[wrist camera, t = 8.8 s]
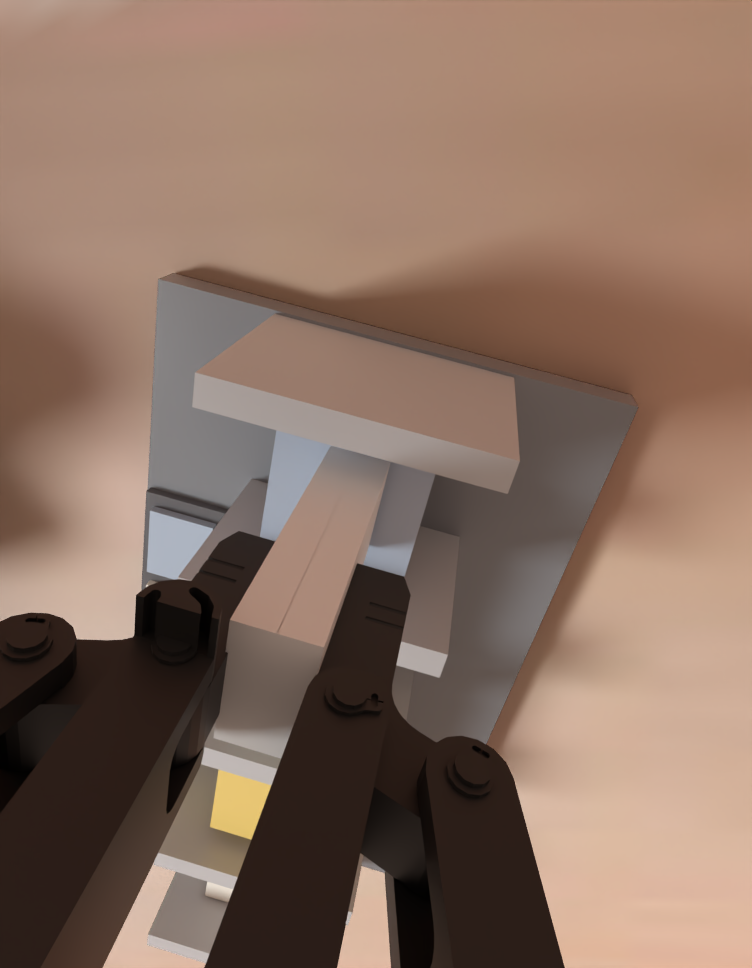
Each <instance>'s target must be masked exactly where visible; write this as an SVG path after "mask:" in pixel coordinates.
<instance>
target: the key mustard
mask: <svg viewBox="0 0 752 968" xmlns="http://www.w3.org/2000/svg"><path fill="white" fill-rule="evenodd" d="M270 788H271V785H268V784H265V783H262V782H259V781H255V780H252V779H249V778H245V777H242V776H239V775H235V774H232V773H229V772H225V771H222V770H218V777H217V783H216V790H215V797H214V803H213V810H212V817H211V823H210V827H211V828H215V829H218V830H221V831H225V832H228V833H231V834H234V835H238V836H241V837H244V838H247V839H252V837H253V834H254V831H255V829H256V826H257V823H258V820H259V818H260V815H261V812H262V810H263V807H264V804H265V801H266V799H267V796H268V793H269V790H270Z"/></svg>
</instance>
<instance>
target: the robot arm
mask: <svg viewBox="0 0 752 968" xmlns="http://www.w3.org/2000/svg"><path fill="white" fill-rule="evenodd" d="M390 463H391V462H388V461H384V460H380V459H377V458H373V457H370V456H366V455H363V454H359V453H355V452H352V451H348V450H345V449H341V448H337V447H334V446H330V448H329V450H328V452H327V453H326V455H325V457H324V458H323V460H322V462H321V464H320V465H319V467H318V469H317V471H316V472H315V474H314V476H313V477H312V479H311V481H310V483H309V484H308V486H307V488H306V490H305V491H304V493H303V495H302V496H301V498H300V500H299V502H298V503H297V505H296V507H295V508H294V510H293V512H292V514H291V515H290V517H289V519H288V521H287V522H286V524H285V526H284V527H283V529H282V531H281V533H280V534H279V536H278V538H277V539H276V541H272V540H269V539H265V538H262V537H258V536H255V535H252V534H248V533H245V532H241V531H238V532H236V533H234V534H232V535H231V536H229V537H227V538H225V539H223V540H222V541H220V542H219V543H218V545H217V546H216V547H215V549H214V550H213V551H212V553H211V554H210V556H209V557H208V560H206V561H205V563H204V564H203V565H202V567H201V568H200V570H199V573H197V574H196V575H195V576H194V578H193V579H192V581H189V580H182V579H175V580H164V581H160V582H157V583H155V584H152V585H149V586H147V587H146V588H145V589H143V590H142V591H141V592H140V593H138V594H137V595H136V612H135V635H134V637H133V638H128V639H124V640H109V641H106V640H77V639H76V636H75V632H74V629H73V627H72V626H71V625H70V624H69V623H68V622H66V621H65V620H64V619H63V618H60V617H57V616H54V615H51V614H47V613H27V614H22V615H16V616H11V617H9V618H7V619H5V620H3V621H1V622H0V968H102V967H103V965H104V963H105V961H106V959H107V957H108V955H109V953H110V951H111V949H112V947H113V945H114V943H115V941H116V939H117V937H118V934H119V932H120V930H121V928H122V926H123V924H124V922H125V920H126V918H127V916H128V914H129V912H130V910H131V908H132V906H133V904H134V902H135V900H136V898H137V895H138V893H139V891H140V889H141V887H142V885H143V883H144V881H145V879H146V877H147V875H148V873H149V871H150V869H151V867H152V865H153V863H154V861H155V858H156V856H157V854H158V852H159V850H160V848H161V846H162V844H163V842H164V840H165V838H166V836H167V834H168V832H169V830H170V828H171V826H172V824H173V822H174V819H175V817H176V815H177V813H178V811H179V809H180V807H181V805H182V803H183V801H184V799H185V797H186V795H187V793H188V791H189V789H190V787H191V785H192V783H193V780H194V778H195V776H196V774H197V772H198V770H199V768H200V766H201V762H202V758H203V753H204V746H205V741H206V739H207V737H208V735H209V734H210V732H211V730H212V728H213V726H214V724H215V731H214V738H215V739H218V740H222V741H225V742H228V743H231V744H235V745H238V746H241V747H244V748H248V749H251V750H254V751H258V752H261V753H264V754H268V755H271V756H274V757H277V758H281V761H280V763H279V766H278V769H277V771H276V774H275V777H274V780H273V782H272V785H271V788H270V790H269V793H268V796H267V799H266V801H265V804H264V807H263V810H262V812H261V815H260V818H259V820H258V823H257V826H256V829H255V831H254V834H253V837H252V839H251V842H250V845H249V848H248V850H247V853H246V856H245V859H244V861H243V864H242V867H241V869H240V872H239V875H238V878H237V880H236V883H235V886H234V889H233V891H232V894H231V897H230V899H229V902H228V905H227V908H226V910H225V913H224V916H223V918H222V921H221V924H220V927H219V929H218V932H217V935H216V938H215V940H214V943H213V946H212V948H211V951H210V954H209V957H208V959H207V962H206V965H205V967H204V968H337V964H338V960H339V955H340V950H341V945H342V940H343V935H344V930H345V925H346V921H347V916H348V911H349V906H350V901H351V896H352V891H353V887H354V882H355V877H356V872H357V867H358V862H359V857H360V853H361V854H362V855H364V856H365V857H366V858H368V859H369V860H371V861H372V862H373V863H375V864H376V865H377V866H379V867H380V868H382V869H383V870H384V871H385V885H386V899H387V914H388V928H389V943H390V957H391V968H565V967H564V964H563V960H562V956H561V953H560V949H559V945H558V942H557V938H556V934H555V930H554V927H553V923H552V919H551V916H550V912H549V908H548V904H547V901H546V897H545V893H544V890H543V886H542V882H541V879H540V875H539V871H538V867H537V864H536V860H535V856H534V853H533V849H532V845H531V841H530V838H529V834H528V830H527V827H526V823H525V819H524V816H523V812H522V808H521V804H520V801H519V797H518V793H517V790H516V786H515V782H514V778H513V776H512V774H511V772H510V770H509V768H508V766H507V763H506V762H505V761H504V760H503V759H502V758H501V757H500V755H499V754H498V753H497V752H496V751H495V750H494V749H493V748H491V747H489V746H488V745H486V744H484V743H483V742H481V741H479V740H477V739H473V738H469V737H465V736H451V737H446V738H444V739H442V740H440V741H438V742H435V741H433V740H432V739H430V738H428V737H427V736H425V735H424V734H422V733H420V732H419V731H418V730H416V729H415V728H414V727H412V726H411V725H410V724H408V722H407V721H406V720H405V719H404V718H403V717H402V716H401V714H400V713H399V711H398V709H397V707H396V706H395V704H394V700H393V696H392V683H393V679H394V674H395V669H396V664H397V659H398V654H399V650H400V645H401V640H402V635H403V629H404V625H405V621H406V615H407V611H408V606H409V601H410V596H411V594H410V591H409V589H408V586H407V583H406V580H405V578H404V576H400V575H397V574H393V573H390V572H386V571H383V570H379V569H376V568H372V567H369V566H365V565H363V564H364V561H365V558H366V555H367V551H368V547H369V544H370V540H371V536H372V532H373V528H374V524H375V520H376V517H377V513H378V509H379V505H380V501H381V497H382V493H383V490H384V486H385V482H386V478H387V474H388V470H389V466H390ZM215 722H216V723H215Z"/></svg>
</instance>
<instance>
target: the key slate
mask: <svg viewBox="0 0 752 968" xmlns="http://www.w3.org/2000/svg"><path fill="white" fill-rule="evenodd" d="M330 446H332V445H328V444H324V443H321V442H317V441H313V440H310V439H306V438H303V437H299V436H295V435H292V434H288V433H284V432H281V431H277V430H276V436H275V443H274V449H273V455H272V462H271V468H270V475H269V481H268V487H267V494H266V500H265V507H264V513H263V520H262V526H261V532H260V537H262V538H265V539H269V540H272V541H276V539H277V538H278V536H279V534H280V533H281V531H282V529H283V527H284V526H285V524H286V522H287V521H288V519H289V517H290V515H291V514H292V512H293V510H294V508H295V507H296V505H297V503H298V502H299V500H300V498H301V496H302V495H303V493H304V491H305V490H306V488H307V486H308V484H309V483H310V481H311V479H312V477H313V476H314V474H315V472H316V471H317V469H318V467H319V465H320V464H321V462H322V460H323V458H324V457H325V455H326V453H327V452H328V450H329V448H330ZM334 447H335V446H334ZM337 448H339V447H337ZM341 449H342V448H341ZM345 450H346V449H345ZM348 451H350V450H348ZM352 452H353V451H352ZM355 453H357V452H355ZM359 454H361V453H359ZM363 455H364V454H363ZM366 456H368V455H366ZM370 457H371V456H370ZM373 458H375V457H373ZM377 459H379V458H377ZM380 460H382V459H380ZM384 461H386V460H384ZM388 462H390V461H388ZM434 477H435V474H433V473H429V472H426V471H422V470H419V469H415V468H411V467H408V466H404V465H400V464H397V463H393V462H391V463H390V466H389V470H388V474H387V478H386V482H385V486H384V490H383V493H382V497H381V501H380V505H379V509H378V513H377V517H376V520H375V524H374V528H373V532H372V536H371V540H370V544H369V547H368V551H367V555H366V558H365V561H364V564H363V565H365V566H369V567H372V568H376V569H379V570H383V571H386V572H390V573H393V574H397V575H400V576H404V577H405V574H406V570H407V567H408V564H409V560H410V557H411V554H412V550H413V547H414V544H415V540H416V537H417V534H418V530H419V527H420V524H421V520H422V517H423V514H424V510H425V507H426V504H427V500H428V497H429V494H430V491H431V487H432V484H433V481H434Z"/></svg>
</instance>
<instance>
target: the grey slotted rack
mask: <svg viewBox="0 0 752 968" xmlns="http://www.w3.org/2000/svg"><path fill="white" fill-rule="evenodd" d="M637 409H638V405H637V404H636V402H635V400H634V398H633V396H632V395H630V394H626V393H622V392H618V391H614V390H611V389H607V388H603V387H599V386H596V385H592V384H588V383H584V382H581V381H577V380H573V379H569V378H566V377H562V376H558V375H554V374H551V373H547V372H543V371H539V370H536V369H532V368H528V367H524V366H521V365H517V364H513V363H509V362H506V361H502V360H498V359H494V358H491V357H487V356H483V355H479V354H476V353H472V352H468V351H464V350H461V349H457V348H453V347H449V346H446V345H442V344H438V343H434V342H431V341H427V340H423V339H419V338H416V337H412V336H408V335H404V334H400V333H397V332H393V331H389V330H385V329H382V328H378V327H374V326H370V325H367V324H363V323H359V322H355V321H352V320H348V319H344V318H340V317H337V316H333V315H329V314H325V313H322V312H318V311H314V310H310V309H307V308H303V307H299V306H295V305H292V304H288V303H284V302H280V301H277V300H273V299H269V298H265V297H262V296H258V295H254V294H250V293H247V292H243V291H239V290H235V289H232V288H228V287H224V286H220V285H217V284H213V283H209V282H205V281H202V280H198V279H194V278H190V277H186V276H183V275H179V274H175V273H173V274H170V275H167V276H165V277H162V278H160V279H158V295H157V315H156V335H155V355H154V375H153V394H152V414H151V434H150V454H149V474H148V490H147V491H146V510H145V530H144V551H143V571H142V590H143V589H145V588H146V587H147V586H149V585H152V584H155V583H157V582H160V581H164V580H175V579H182V580H189V581H192V579H193V578H194V576H195V575H196V574H197V573H199V570H200V568H201V567H202V565H203V564H204V563H205V561H206V560H208V557H209V556H210V554H211V553H212V551H213V550H214V549H215V547H216V546H217V545H218V543H219V542H220V541H222V540H223V539H225V538H227V537H229V536H231V535H232V534H234V533H236V532H238V531H241V532H245V533H248V534H252V535H255V536H258V537H260V532H261V526H262V520H263V513H264V507H265V500H266V494H267V487H268V481H269V475H270V468H271V462H272V455H273V449H274V443H275V436H276V430H277V431H281V432H284V433H288V434H292V435H295V436H299V437H303V438H306V439H310V440H313V441H317V442H321V443H324V444H328V445H332V446H335V447H339V448H342V449H346V450H350V451H353V452H357V453H361V454H364V455H368V456H371V457H375V458H379V459H382V460H386V461H390V462H393V463H397V464H400V465H404V466H408V467H411V468H415V469H419V470H422V471H426V472H429V473H433V474H435V477H434V481H433V484H432V487H431V491H430V494H429V497H428V500H427V504H426V507H425V510H424V514H423V517H422V520H421V524H420V527H419V530H418V534H417V537H416V540H415V544H414V547H413V550H412V554H411V557H410V560H409V564H408V567H407V570H406V574H405V577H404V578H405V580H406V583H407V586H408V589H409V591H410V594H411V596H410V601H409V606H408V611H407V615H406V621H405V625H404V629H403V635H402V640H401V645H400V650H399V654H398V659H397V664H396V669H395V674H394V679H393V683H392V696H393V700H394V704H395V706H396V707H397V709H398V711H399V713H400V714H401V716H402V717H403V718H404V719H405V720H406V721H407V722H408V724H410V725H411V726H412V727H414V728H415V729H416V730H418V731H419V732H420V733H422V734H424V735H425V736H427V737H428V738H430V739H432V740H433V741H435V742H438V741H440V740H442V739H444V738H446V737H451V736H465V737H469V738H473V739H477V740H479V741H481V742H483V743H484V744H486V743H487V741H488V739H489V737H490V734H491V732H492V730H493V728H494V726H495V723H496V721H497V719H498V717H499V715H500V712H501V710H502V708H503V706H504V704H505V701H506V699H507V697H508V695H509V692H510V690H511V688H512V686H513V684H514V681H515V679H516V677H517V675H518V673H519V670H520V668H521V666H522V664H523V662H524V659H525V657H526V655H527V653H528V650H529V648H530V646H531V644H532V642H533V639H534V637H535V635H536V633H537V631H538V628H539V626H540V624H541V622H542V620H543V617H544V615H545V613H546V611H547V608H548V606H549V604H550V602H551V600H552V597H553V595H554V593H555V591H556V589H557V586H558V584H559V582H560V580H561V577H562V575H563V573H564V571H565V569H566V566H567V564H568V562H569V560H570V558H571V555H572V553H573V551H574V549H575V547H576V544H577V542H578V540H579V538H580V535H581V533H582V531H583V529H584V527H585V524H586V522H587V520H588V518H589V516H590V513H591V511H592V509H593V507H594V505H595V502H596V500H597V498H598V496H599V493H600V491H601V489H602V487H603V485H604V482H605V480H606V478H607V476H608V474H609V471H610V469H611V467H612V465H613V463H614V460H615V458H616V456H617V454H618V451H619V449H620V447H621V445H622V443H623V440H624V438H625V436H626V434H627V432H628V429H629V427H630V425H631V423H632V421H633V418H634V416H635V414H636V412H637ZM215 723H216V722H215ZM214 731H215V724H214V726H213V728H212V730H211V732H210V734H209V735H208V737H207V739H206V741H205V746H204V753H203V758H202V762H201V766H200V768H199V770H198V772H197V774H196V776H195V778H194V780H193V783H192V785H191V787H190V789H189V791H188V793H187V795H186V797H185V799H184V801H183V803H182V805H181V807H180V809H179V811H178V813H177V815H176V817H175V819H174V822H173V824H172V826H171V828H170V830H169V832H168V834H167V836H166V838H165V840H164V842H163V844H162V846H161V848H160V850H159V852H158V854H157V856H156V858H155V861H154V865H156V866H159V867H162V868H165V869H169V870H172V871H175V872H176V873H175V875H174V877H173V880H172V882H171V884H170V886H169V889H168V891H167V893H166V895H165V898H164V900H163V902H162V904H161V906H160V909H159V911H158V913H157V915H156V918H155V920H154V922H153V924H152V927H151V929H150V931H149V933H148V941H147V945H149V946H152V947H155V948H159V949H162V950H165V951H168V952H171V953H174V954H178V955H181V956H184V957H187V958H190V959H193V960H197V961H200V962H203V963H206V962H207V959H208V957H209V954H210V951H211V948H212V946H213V943H214V940H215V938H216V935H217V932H218V929H219V927H220V924H221V921H222V918H223V916H224V913H225V910H226V908H227V905H228V902H224V901H221V900H218V899H215V898H212V897H208V896H205V892H206V886H207V882H211V883H214V884H217V885H220V886H223V887H227V888H230V889H234V886H235V883H236V880H237V878H238V875H239V872H240V869H241V867H242V864H243V861H244V859H245V856H246V853H247V850H248V848H249V845H250V842H251V839H247V838H244V837H241V836H238V835H234V834H231V833H228V832H225V831H221V830H218V829H215V828H211V827H210V823H211V817H212V810H213V803H214V797H215V790H216V783H217V777H218V770H222V771H225V772H229V773H232V774H235V775H239V776H242V777H245V778H249V779H252V780H255V781H259V782H262V783H265V784H268V785H272V782H273V780H274V777H275V774H276V771H277V769H278V766H279V763H280V761H281V758H277V757H274V756H271V755H268V754H264V753H261V752H258V751H254V750H251V749H248V748H244V747H241V746H238V745H235V744H231V743H228V742H225V741H222V740H218V739H215V738H214ZM361 866H364V867H367V868H370V869H374V870H377V871H380V872H383V873H385V871H384V870H383V869H382V868H380V867H379V866H377V865H376V864H375V863H373V862H372V861H371V860H369V859H368V858H366V857H365V856H364V855H362V854H361V853H360V857H359V862H358V867H357V872H356V877H355V882H354V887H353V891H352V896H351V901H350V906H349V911H348V916H347V921H346V925H348V923H349V921H350V918H351V915H352V912H353V907H354V902H355V897H356V891H357V886H358V881H359V876H360V871H361Z"/></svg>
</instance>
